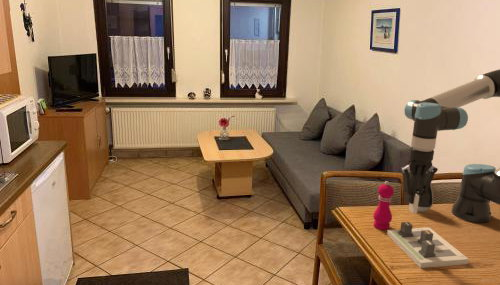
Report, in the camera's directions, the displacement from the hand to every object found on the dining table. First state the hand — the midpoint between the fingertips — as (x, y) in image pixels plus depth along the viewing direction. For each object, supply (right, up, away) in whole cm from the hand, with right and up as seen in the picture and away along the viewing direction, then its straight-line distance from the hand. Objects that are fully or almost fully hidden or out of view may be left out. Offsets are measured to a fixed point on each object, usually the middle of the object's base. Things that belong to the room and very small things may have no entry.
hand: (412, 211), depth 141 cm
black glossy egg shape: (+18, -6, +38) cm, 42 cm away
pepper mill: (-4, -10, +21) cm, 24 cm away
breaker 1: (+2, -11, +11) cm, 15 cm away
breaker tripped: (+7, -13, +5) cm, 15 cm away
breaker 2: (+4, -15, -2) cm, 15 cm away
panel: (+7, -15, +5) cm, 17 cm away
